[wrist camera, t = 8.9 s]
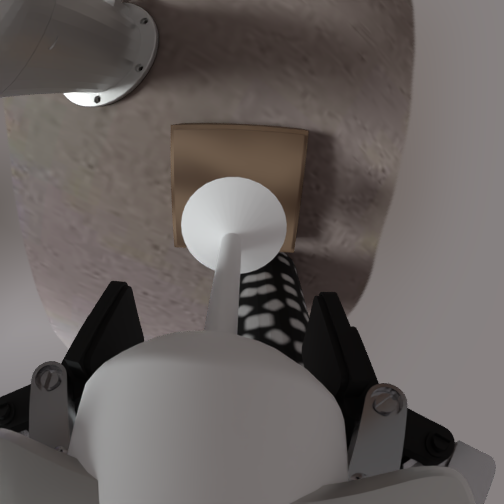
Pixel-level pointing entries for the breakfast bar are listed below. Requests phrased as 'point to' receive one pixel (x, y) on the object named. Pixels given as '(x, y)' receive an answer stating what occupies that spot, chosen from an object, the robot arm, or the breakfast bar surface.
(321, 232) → the breakfast bar surface
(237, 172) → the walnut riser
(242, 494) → the champagne flute
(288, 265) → the spotted tube
